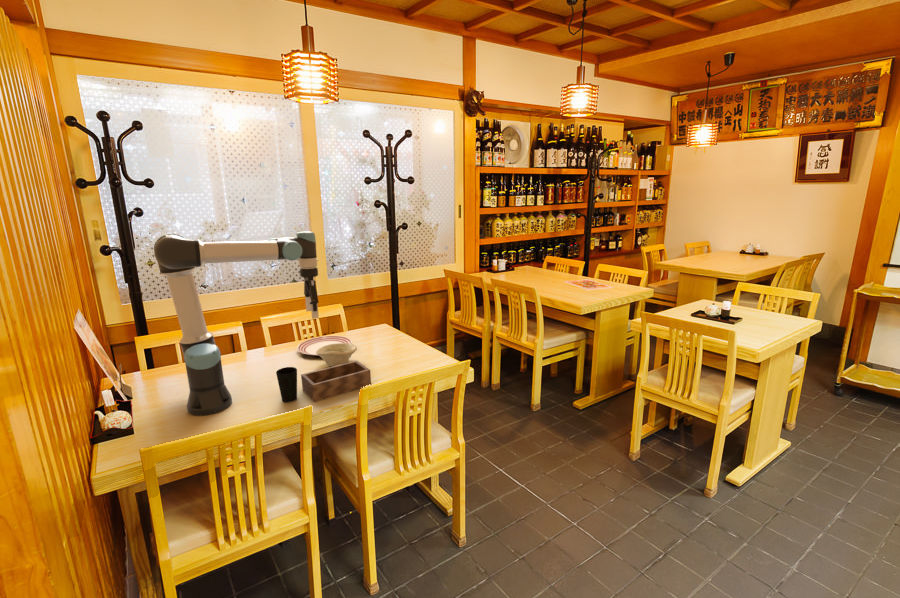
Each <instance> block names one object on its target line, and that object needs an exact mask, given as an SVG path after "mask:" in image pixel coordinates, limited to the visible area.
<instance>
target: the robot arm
mask: <svg viewBox="0 0 900 598" xmlns="http://www.w3.org/2000/svg"><path fill="white" fill-rule="evenodd" d="M316 240H317V239H316V234H315V232H314V231H307V230H306V231H297V233H296V236H291V237H290V236H289V237H274V238H273V237H272V238H268V240H259V241H258V240H255V241H254V240H253V241H251V240H249V241H245V240H244V241H215V242H214V241H213V242H212V241H211V242H209V241H208V242H202V241H201V240H200V239H187V238H185V237H184V236H182V235H179V234H174V233H172V234H164V235H161V236H160V237H159V238H158V239H157V240H156V241H155V243H154V245H153V251H154V252H153V253H154V258H155V260H156V261H157V265H158V269H159V272H160V275H163V276H164V277H165V278H166V280H167V284H168V286H169V292H170V295H171V298H172V301H173V305H174V310H175V312H176V316H177V320H178V323H179V326H180V330H181V333H182V337H181V339H180V340H179V343H180V346H181V347H180V348H181V351H182V353H183V354H182V356H183V360H184V363H185V364H184V365H185V369H186V376H187V382H188V388H189V393H188V398H187V403H186V409H187V410H186V411H187V413H188V414H189V415H192V416H207V415H212V414H216V413H219V412H222V411H224V410H226V409H228V408H229V407H230V406H231V405H232V403H233V399H232V395H231V393H230V391H229V390H228V388H227V386H226V383H225V379H224V371H223V364H222V355H221V354H222V353H221V350H220V348H219V347H218V345H216V341H215V338H214V334H213V332H212V331H209V330H208V327H207V323H206V320H205V316H204V313H203V308H202V305H201V300H200V296H199V293H198V289H197V285H196V282H195V277H194V274H193V272H195V269H196V268H199V267H200V268H202V267H203V266H204V265H207V264H221V263H222V264H224V263H238V262H239V263H241V262H243V263H244V262H259V261H276V260H277V261H282V260H285V261H286V260H287V261H297V260H298V267H299V276H300V277H301V278H303V281H304V282H303V286H304V287H303V295H304V297H305V310H306V312H311V319H312V320H314V319H318V318H319V305H318V304H319V296H318V291H317V283H316V279H315V280H314V278H316V277H318V276H319V268H318V267H317V266H318V262H319V259H318V258H317V257H318V256H317V241H316Z"/></svg>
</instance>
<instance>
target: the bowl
mask: <svg viewBox="0 0 900 598" xmlns="http://www.w3.org/2000/svg"><path fill="white" fill-rule="evenodd" d="M357 348H358V347H357V346H356V345H355V344H353V343H352V344H349V343H337V344H329V345H326V346H323V347H321V348H319V349H318V350H317V351H316V353H317V354H318V355H319V357H320V358H321V359H322V360H323V361H324V362H325V363H326V365H327V366H329V367H333V366H337V365H341V364H345V363H349V362H348V361H349V359H350V358H351V357H352V355H353V354H354V353H356V351H357Z"/></svg>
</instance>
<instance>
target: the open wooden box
mask: <svg viewBox="0 0 900 598" xmlns="http://www.w3.org/2000/svg"><path fill="white" fill-rule="evenodd" d="M371 375H372V373H371V369H370V368H369V367H367V366H366V365H365V364H362V363H361V362H359V361H358V360H354V361H350V362H347V363H345V364H341V365H337V366H333V367H330V366H329V367H325V368H321V369H317V370H314V371H309V372H306V373H302V374H300V376H301V377H300V379H301V388H302V392H304V393H305V394H306V396H307V397H309V398H310V399H311V400H312V401H313V402H314V403H316V402H320V401H323V400H326V399H327V400H328V399H329V398H334V397H337V396H339V395H344V394H347V393H351V392H354V391H357V390H361V389H362V388H361V387H363V386H366V385H369V384H371V385H372V376H371ZM360 388H361V389H360Z"/></svg>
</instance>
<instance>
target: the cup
mask: <svg viewBox="0 0 900 598" xmlns="http://www.w3.org/2000/svg"><path fill="white" fill-rule="evenodd" d="M275 374H276V378H277V383H278V387H279V392H280V397H281V401H282V402H283V403H292V402H295V401H297V399H298V369H297V368H296V367H293V366H286V367H282V368H279V369H278V370H276V372H275Z"/></svg>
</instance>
